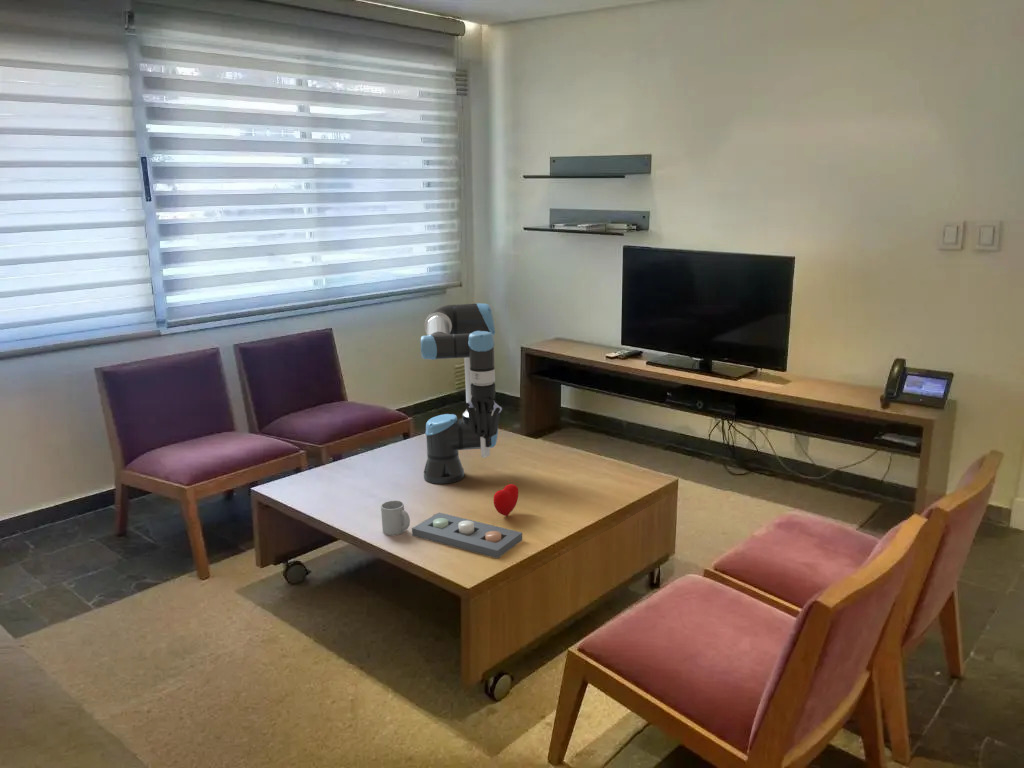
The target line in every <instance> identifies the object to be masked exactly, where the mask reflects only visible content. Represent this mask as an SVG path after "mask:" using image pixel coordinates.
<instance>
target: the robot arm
mask: <svg viewBox="0 0 1024 768" xmlns="http://www.w3.org/2000/svg"><path fill="white" fill-rule="evenodd" d="M424 331H425V334H426V335H422V336H420V354H421V359H423V360H433V361H435V360H445V359H464V378H465V380H464V382H465V384H464V385H465V402H466V403H464V407H465V411H464V412H462V417H461V418H458V417H457V415H456V414H454V413H451V414H450V413H444V414H440V415H439V414H438V415H436V416H433V417H431V418H429V419H428V420H427V422H426V423H425V437H426V452H427V453H426V455H427V456H426V462H425V466H424V470H423V479H424V481H426V482H428V483H431V484H438V485H440V484H442V485H445V484H447V485H448V484H452V483H456V482H459V481H461V480H462V479H463V478H464V477H465V469H464V467H463V465H462V462H461V459H460V457H459V455H460V454H459V451H464V450H465V451H467V450H480V457H481V458H484V459H486V458H489V456H491V452H490V451H491V450H490V449H491V448H495V446H496V444H497V440H498V433H499V423H500V417H501V413H503V410H504V406H502V405H499V404H498V403H497V400H496V383H495V382H496V372H495V371H496V369H495V341H494V336H496V330H495V323H494V317H493V312H492V308H491V306H490V305H489V304H488V303H479V302H478V303H475V302H474V303H459V304H446V305H442V306H439V307H438V308H435V309H434V310H432V311H431V312H430V313H428V315H427V316H426V317H425V320H424Z"/></svg>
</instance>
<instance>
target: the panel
mask: <svg viewBox="0 0 1024 768" xmlns="http://www.w3.org/2000/svg"><path fill="white" fill-rule="evenodd" d="M438 518H445V519H447V520H448V526H447V527H446V528H444V529H439V528H435V527H433V521H434V520H435V519H438ZM467 520H468V521H472V522H474V533H473V534H471V535H470V536H466V535H462V534H459V526H458V524H459V522H461V521H467ZM490 531H498V532H500V533H501V540H500V541H499V542H497V543H494V542H490V541H486V537H485V534H486V533H487V532H490ZM411 535H412V537H416V538H419V539H420V538H421V539H423V540H427V541H431V542H435V543H439V544H442V545H446V546H450V547H454V548H457V549H461V550H464V551H469V552H473V553H476V554H480V555H484V556H488V557H490V556H491V557H490V558H493V559H494V558H495V559H499V558H500V557H502V556H503V555H504V554H506V553H507V552H508V551H510V550H511V549H513V548H514V547H515V546H517V545H518V544H519V543H521V542H522V541H523V532H521V531H517V530H513V529H510V528H509V529H508V528H504V527H501V526H497V525H492V524H488V523H485V522H480V521H476V520H472V519H467V518H463V517H460V516H455V515H452V514H448V513H447V514H446V513H443V512H437V513H436V514H434V515H432V516H430V517H429V518H427V519H424V521H421V522H420V523H418V524H417V525H415V526H413V527H411Z"/></svg>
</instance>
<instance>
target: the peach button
mask: <svg viewBox="0 0 1024 768" xmlns="http://www.w3.org/2000/svg"><path fill="white" fill-rule="evenodd" d="M485 537H486V541H490V542H494V543H497V542H499V541H500V540H501V533H500V532H498V531H490V532H487V533H486V534H485Z"/></svg>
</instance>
